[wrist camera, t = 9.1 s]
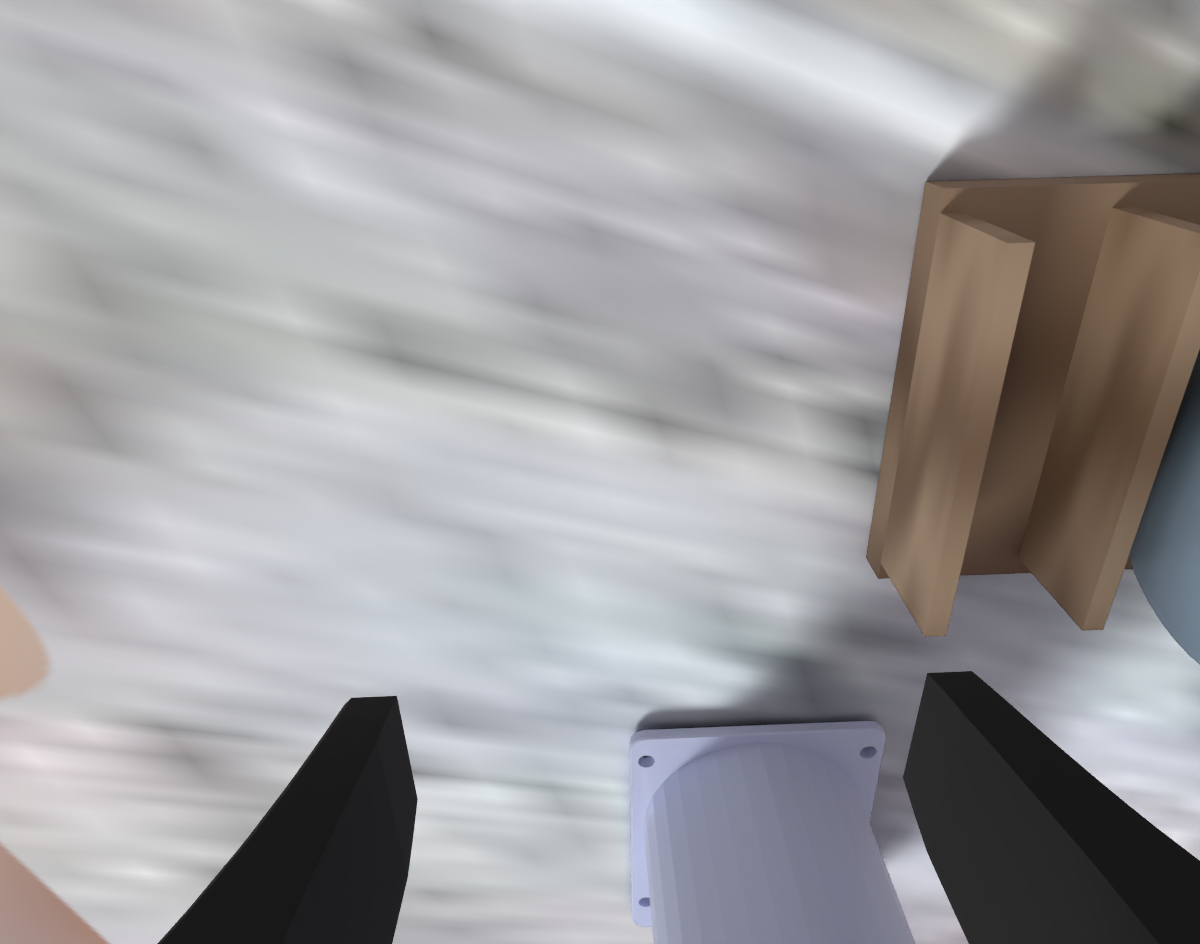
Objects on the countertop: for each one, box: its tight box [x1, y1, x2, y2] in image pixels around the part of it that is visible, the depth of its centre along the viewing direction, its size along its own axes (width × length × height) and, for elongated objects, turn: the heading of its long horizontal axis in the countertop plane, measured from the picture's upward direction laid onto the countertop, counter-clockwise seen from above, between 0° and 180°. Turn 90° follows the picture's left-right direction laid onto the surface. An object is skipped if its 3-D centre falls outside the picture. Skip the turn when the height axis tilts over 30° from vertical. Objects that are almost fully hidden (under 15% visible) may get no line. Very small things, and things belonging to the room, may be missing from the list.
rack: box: [866, 173, 1200, 637], centre depth 18 cm, size 10×12×4 cm
